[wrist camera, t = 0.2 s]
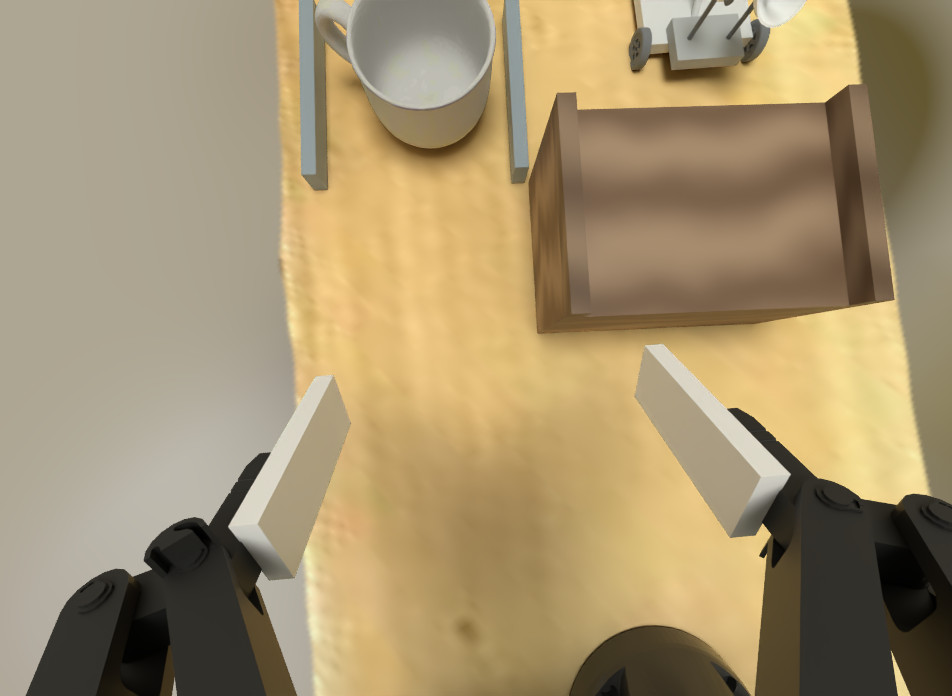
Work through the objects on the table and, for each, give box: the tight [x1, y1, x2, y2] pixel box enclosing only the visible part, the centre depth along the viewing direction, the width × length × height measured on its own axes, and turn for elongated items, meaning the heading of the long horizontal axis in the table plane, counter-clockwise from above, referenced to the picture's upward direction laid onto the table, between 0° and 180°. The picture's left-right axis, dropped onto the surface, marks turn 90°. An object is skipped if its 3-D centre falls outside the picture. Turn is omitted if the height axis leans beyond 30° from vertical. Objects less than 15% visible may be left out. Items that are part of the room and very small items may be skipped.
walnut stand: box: [529, 84, 894, 333], centre depth 27 cm, size 14×20×10 cm
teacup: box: [315, 0, 496, 148], centre depth 29 cm, size 14×11×8 cm
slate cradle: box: [299, 0, 529, 190], centre depth 32 cm, size 16×19×2 cm
